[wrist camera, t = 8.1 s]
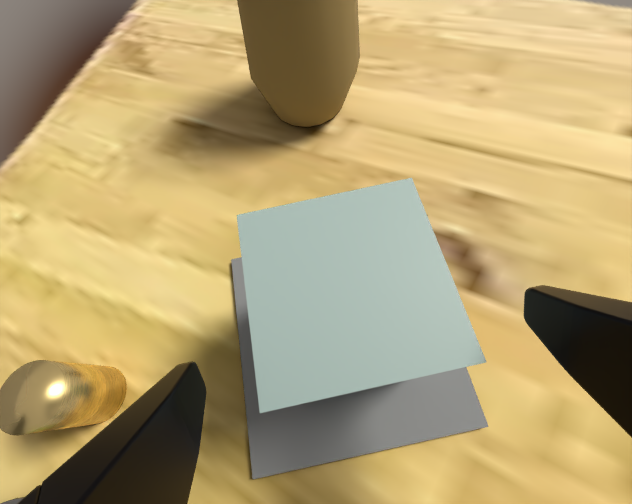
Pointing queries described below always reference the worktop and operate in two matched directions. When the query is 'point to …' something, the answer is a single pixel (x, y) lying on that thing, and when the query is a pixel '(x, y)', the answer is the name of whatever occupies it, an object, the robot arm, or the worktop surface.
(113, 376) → the pin
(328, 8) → the squeeze bottle
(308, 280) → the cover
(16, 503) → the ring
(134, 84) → the worktop surface
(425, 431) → the mat
